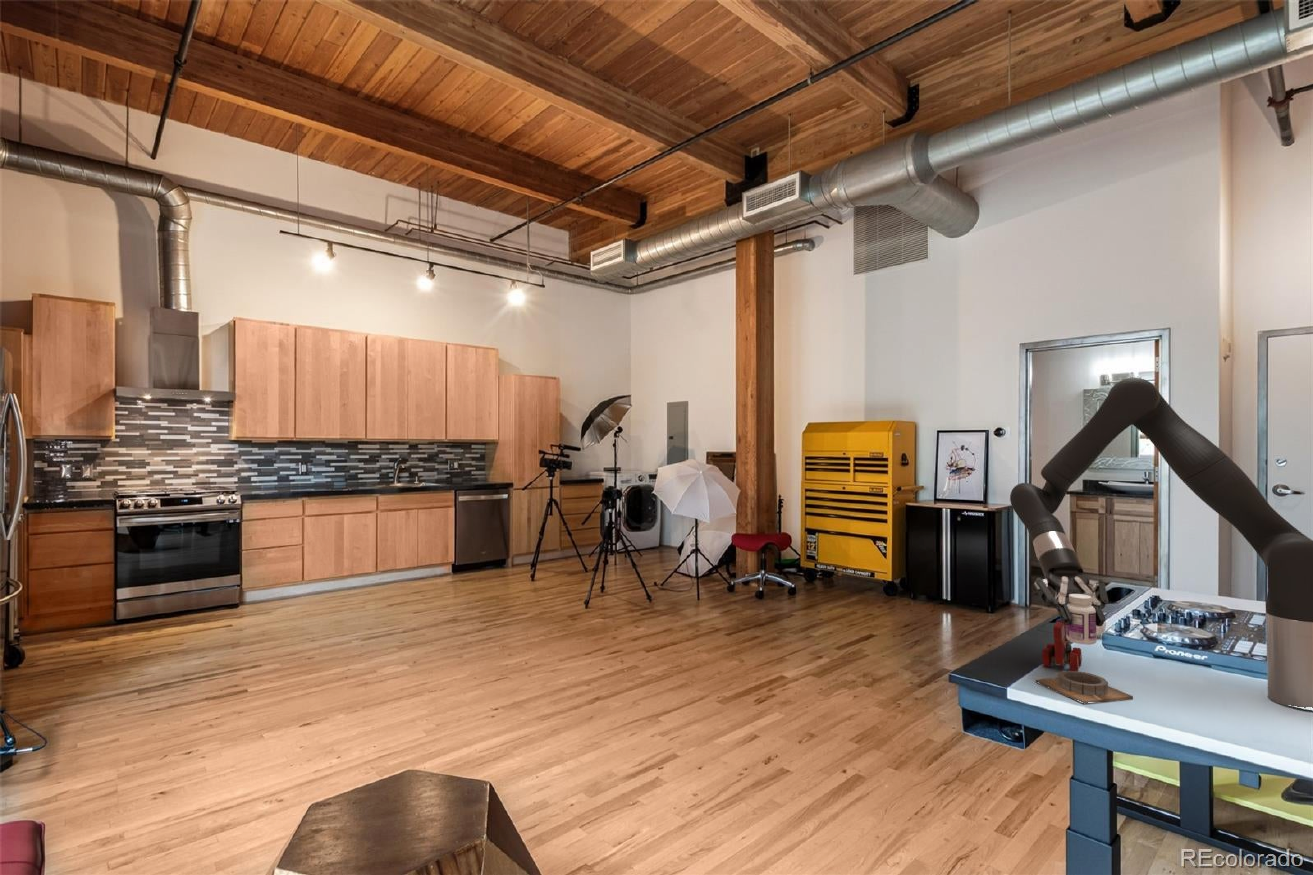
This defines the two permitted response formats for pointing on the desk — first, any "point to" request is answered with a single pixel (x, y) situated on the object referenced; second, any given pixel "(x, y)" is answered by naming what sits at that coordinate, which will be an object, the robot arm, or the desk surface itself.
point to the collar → (1084, 687)
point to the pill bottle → (1081, 620)
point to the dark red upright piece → (1061, 649)
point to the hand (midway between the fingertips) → (1085, 623)
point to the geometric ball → (1100, 629)
